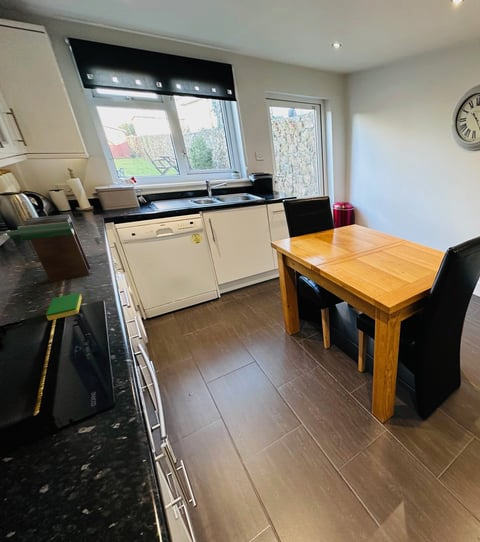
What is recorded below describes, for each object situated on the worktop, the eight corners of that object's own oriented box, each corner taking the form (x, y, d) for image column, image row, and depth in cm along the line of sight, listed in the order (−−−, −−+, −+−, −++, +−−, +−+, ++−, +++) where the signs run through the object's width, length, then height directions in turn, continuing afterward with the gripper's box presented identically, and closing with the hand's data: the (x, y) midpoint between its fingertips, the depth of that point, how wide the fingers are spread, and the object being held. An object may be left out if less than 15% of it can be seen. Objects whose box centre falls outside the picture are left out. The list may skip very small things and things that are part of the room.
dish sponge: (48, 321, 90) (45, 315, 89) (55, 303, 100) (52, 297, 99) (78, 314, 94) (75, 308, 93) (82, 298, 104) (79, 292, 103)
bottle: (-13, 246, 94) (-21, 231, 92) (-9, 242, 97) (-16, 228, 95) (73, 236, 106) (68, 223, 104) (74, 233, 109) (69, 220, 107)
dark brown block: (50, 282, 114) (21, 222, 104) (53, 274, 121) (27, 217, 111) (90, 275, 121) (66, 218, 111) (90, 268, 128) (69, 213, 118)
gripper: (-62, 262, 84) (-11, 233, 88) (-37, 244, 98) (6, 220, 102) (-35, 276, 88) (12, 248, 92) (-15, 257, 102) (25, 233, 106)
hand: (9, 233), depth 97 cm, fingers closed on bottle, 2 cm apart
